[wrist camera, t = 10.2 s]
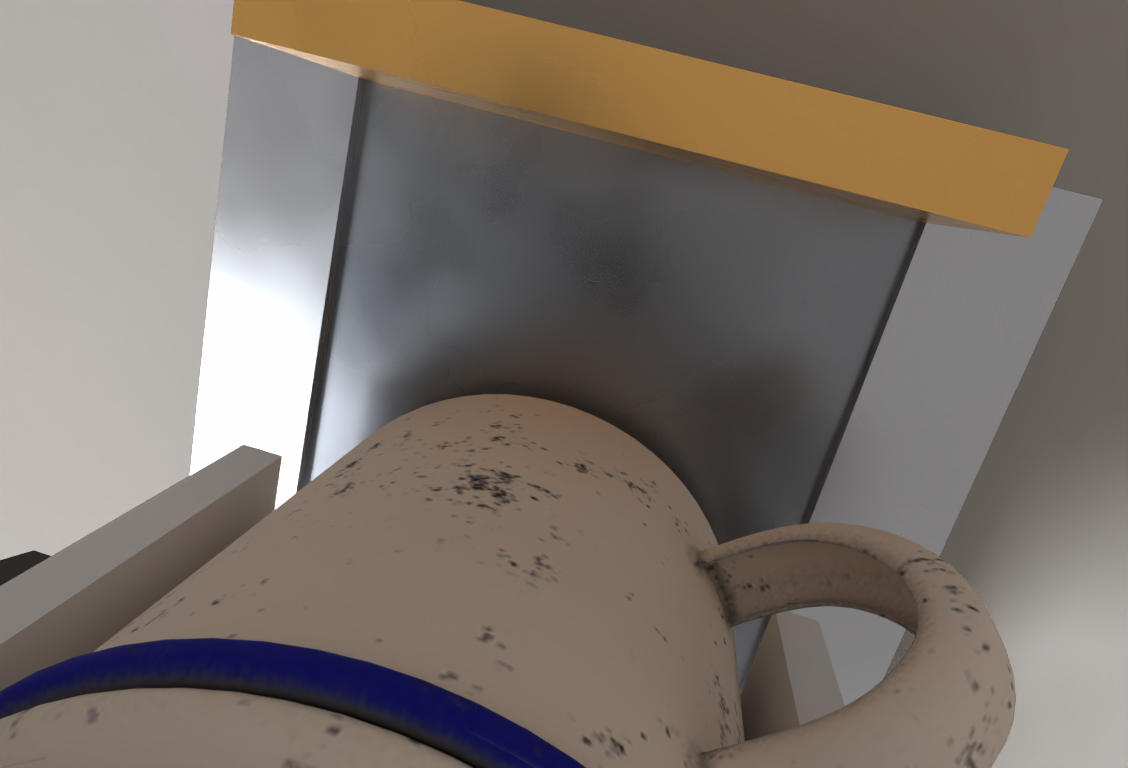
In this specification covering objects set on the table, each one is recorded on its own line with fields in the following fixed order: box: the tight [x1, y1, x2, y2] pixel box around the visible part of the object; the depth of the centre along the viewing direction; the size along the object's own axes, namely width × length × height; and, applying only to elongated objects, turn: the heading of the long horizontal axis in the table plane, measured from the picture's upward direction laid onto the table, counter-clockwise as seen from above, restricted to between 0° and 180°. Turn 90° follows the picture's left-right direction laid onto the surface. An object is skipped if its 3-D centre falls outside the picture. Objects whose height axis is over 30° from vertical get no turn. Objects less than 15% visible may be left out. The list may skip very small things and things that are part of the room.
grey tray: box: [190, 0, 1103, 706], centre depth 14 cm, size 15×18×7 cm
